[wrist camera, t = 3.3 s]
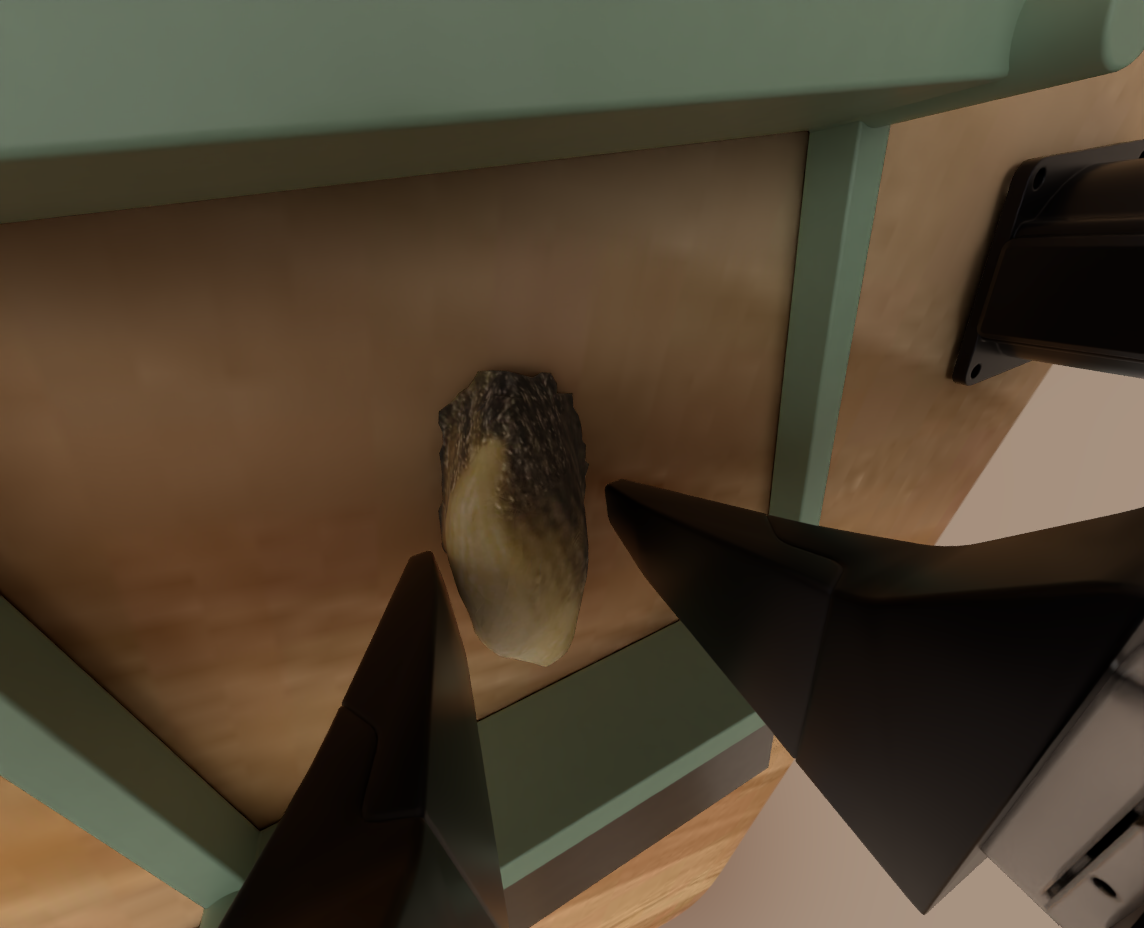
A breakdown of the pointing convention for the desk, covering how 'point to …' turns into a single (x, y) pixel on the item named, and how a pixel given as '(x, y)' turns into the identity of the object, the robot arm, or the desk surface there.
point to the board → (635, 831)
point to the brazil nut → (516, 512)
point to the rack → (462, 142)
